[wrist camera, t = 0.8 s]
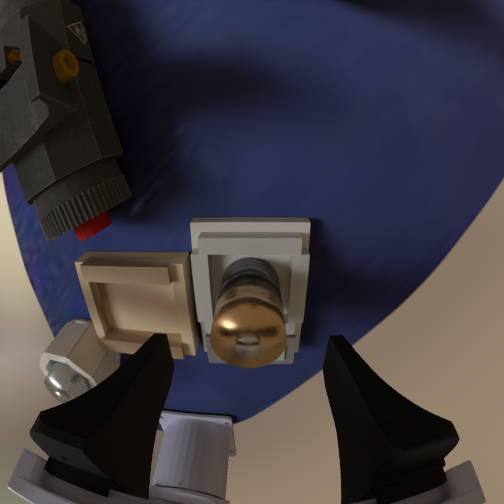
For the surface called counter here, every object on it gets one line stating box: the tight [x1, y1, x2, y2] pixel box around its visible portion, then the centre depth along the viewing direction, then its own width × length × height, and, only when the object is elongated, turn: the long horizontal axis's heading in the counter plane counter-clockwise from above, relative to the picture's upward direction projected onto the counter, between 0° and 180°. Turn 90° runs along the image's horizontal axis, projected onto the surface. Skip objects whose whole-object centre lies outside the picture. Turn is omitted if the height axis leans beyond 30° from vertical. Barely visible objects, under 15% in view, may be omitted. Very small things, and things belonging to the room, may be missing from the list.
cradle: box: [190, 217, 310, 364], centre depth 18 cm, size 10×7×2 cm
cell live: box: [210, 257, 287, 368], centre depth 15 cm, size 4×4×6 cm
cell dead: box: [44, 361, 91, 403], centre depth 19 cm, size 4×4×6 cm
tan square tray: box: [75, 252, 200, 359], centre depth 19 cm, size 7×8×2 cm
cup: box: [39, 318, 121, 388], centre depth 20 cm, size 6×6×5 cm
